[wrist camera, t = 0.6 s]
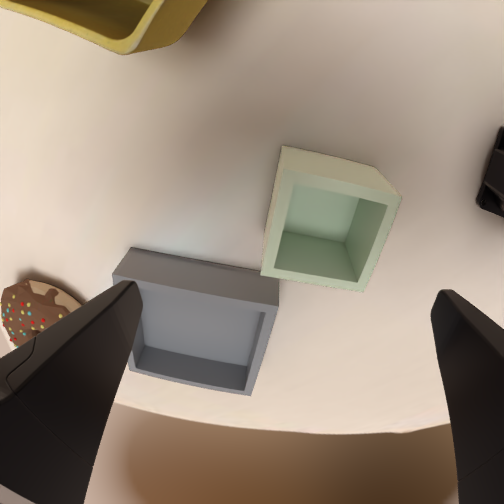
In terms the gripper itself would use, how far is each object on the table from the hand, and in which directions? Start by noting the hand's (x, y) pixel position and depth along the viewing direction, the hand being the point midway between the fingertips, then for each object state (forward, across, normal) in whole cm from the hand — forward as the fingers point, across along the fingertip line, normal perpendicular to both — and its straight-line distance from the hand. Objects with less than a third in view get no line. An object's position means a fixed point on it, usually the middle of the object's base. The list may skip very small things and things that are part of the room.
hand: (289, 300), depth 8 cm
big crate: (+12, +7, +12) cm, 19 cm away
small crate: (+12, -2, +2) cm, 12 cm away
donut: (+12, +24, +15) cm, 31 cm away
